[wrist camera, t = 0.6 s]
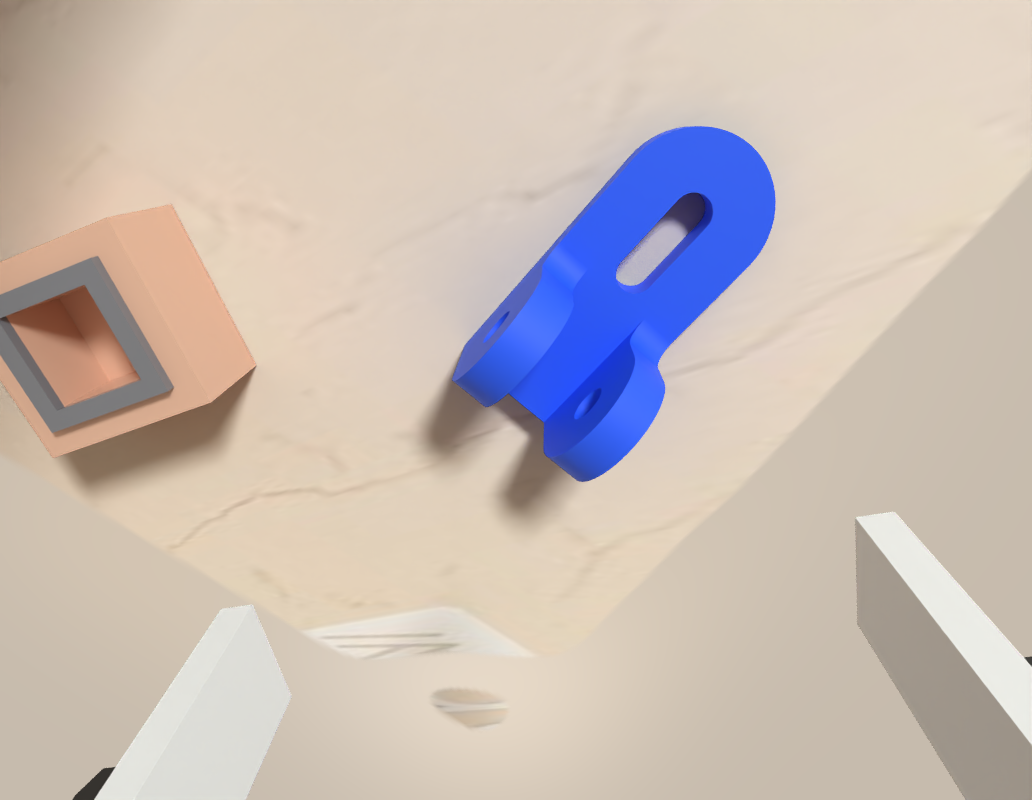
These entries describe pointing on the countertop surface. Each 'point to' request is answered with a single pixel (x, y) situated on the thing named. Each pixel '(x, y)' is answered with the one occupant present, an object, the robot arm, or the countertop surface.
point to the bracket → (620, 297)
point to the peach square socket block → (114, 330)
